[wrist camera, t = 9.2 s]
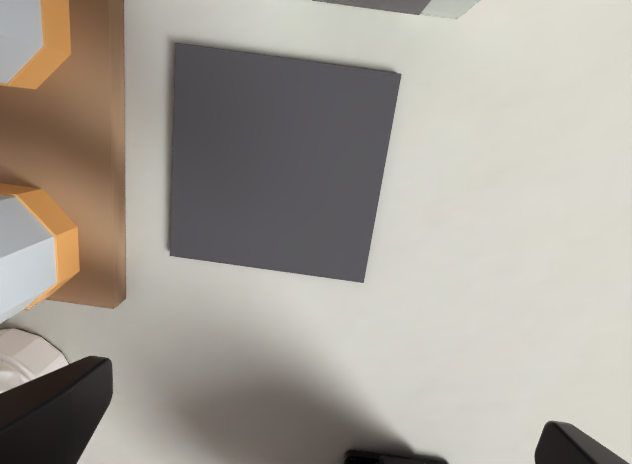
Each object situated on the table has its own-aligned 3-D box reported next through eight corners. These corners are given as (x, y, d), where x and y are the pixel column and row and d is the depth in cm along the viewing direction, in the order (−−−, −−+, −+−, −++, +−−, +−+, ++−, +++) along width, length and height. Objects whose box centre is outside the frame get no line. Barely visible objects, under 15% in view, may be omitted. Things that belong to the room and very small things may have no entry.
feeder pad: (363, 279, 20) (363, 282, 20) (172, 253, 20) (169, 255, 20) (399, 74, 17) (401, 73, 17) (178, 44, 17) (175, 42, 17)
